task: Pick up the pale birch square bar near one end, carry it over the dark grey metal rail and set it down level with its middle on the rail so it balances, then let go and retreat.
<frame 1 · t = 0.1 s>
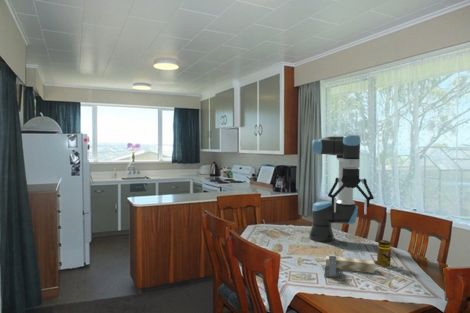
hand: (349, 212, 152), 28 cm above the table, fingers open, 13 cm apart
condiment: (381, 264, 162), on the table
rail: (332, 273, 150), on the table
bar: (349, 268, 157), on the table
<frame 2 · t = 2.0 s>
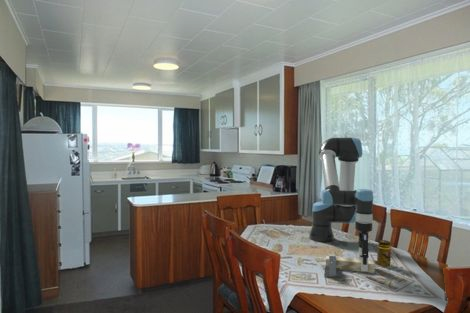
hand: (362, 265, 155), 2 cm above the table, fingers open, 13 cm apart
nothing on the table moved.
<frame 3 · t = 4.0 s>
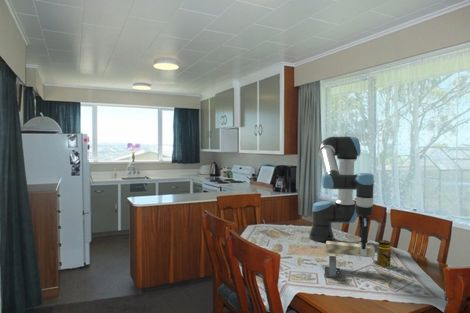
hand: (362, 253, 155), 8 cm above the table, fingers closed on bar, 4 cm apart
bar: (349, 253, 157), point 7 cm above the table, touching gripper
everything else where it was.
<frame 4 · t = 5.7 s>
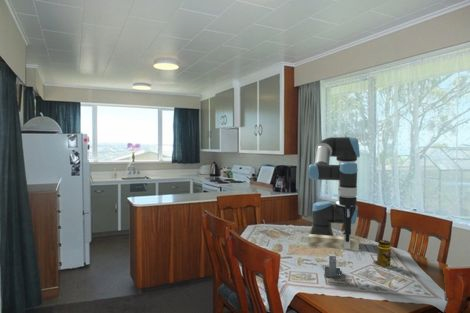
hand: (346, 246, 148), 13 cm above the table, fingers closed on bar, 4 cm apart
bar: (333, 246, 150), point 13 cm above the table, touching gripper
everything else where it was.
when the fingers open (5 cm above the table, at t = 7.7 s): bar stays where it is, resting on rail.
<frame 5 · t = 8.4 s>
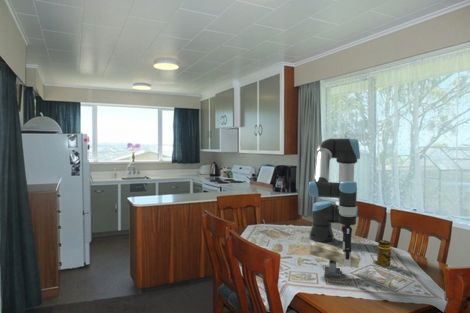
hand: (346, 260, 148), 7 cm above the table, fingers open, 13 cm apart
bar: (332, 259, 150), point 7 cm above the table, tilted 11°, touching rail
everything else where it was.
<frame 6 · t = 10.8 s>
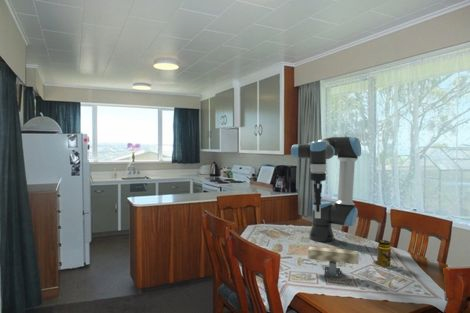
hand: (317, 214, 160), 25 cm above the table, fingers open, 13 cm apart
bar: (332, 259, 150), point 6 cm above the table, touching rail
everything else where it was.
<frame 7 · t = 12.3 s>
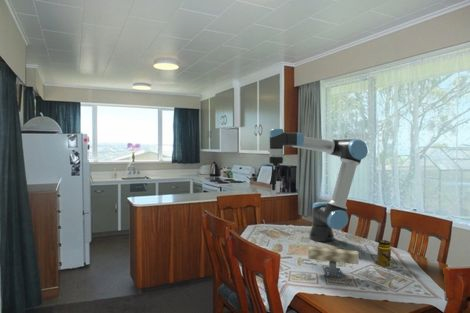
hand: (275, 194, 181), 32 cm above the table, fingers open, 13 cm apart
nothing on the table moved.
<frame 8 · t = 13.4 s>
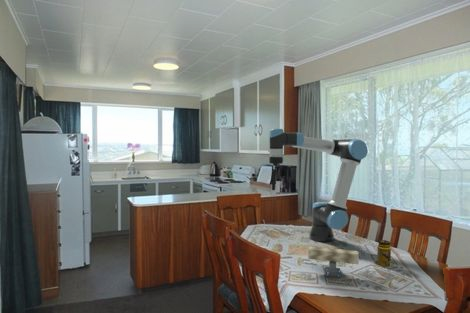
hand: (275, 194, 181), 32 cm above the table, fingers open, 13 cm apart
nothing on the table moved.
at the end: bar inside the target area on the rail (0.1 cm from its centre), point 6.5 cm above the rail's base; bar tilted 0°; bar touching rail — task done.
